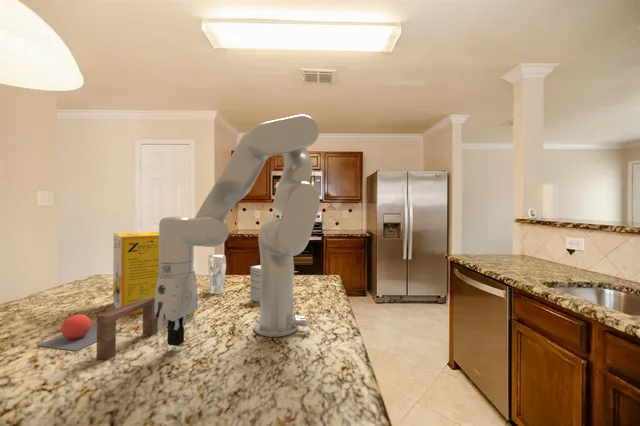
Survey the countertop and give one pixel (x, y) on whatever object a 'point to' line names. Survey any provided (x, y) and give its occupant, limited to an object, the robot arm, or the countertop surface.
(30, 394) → the countertop surface
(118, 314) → the bridge
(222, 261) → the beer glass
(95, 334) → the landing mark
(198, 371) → the countertop surface
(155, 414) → the countertop surface
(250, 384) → the countertop surface
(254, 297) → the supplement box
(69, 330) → the ball
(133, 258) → the packaging box
